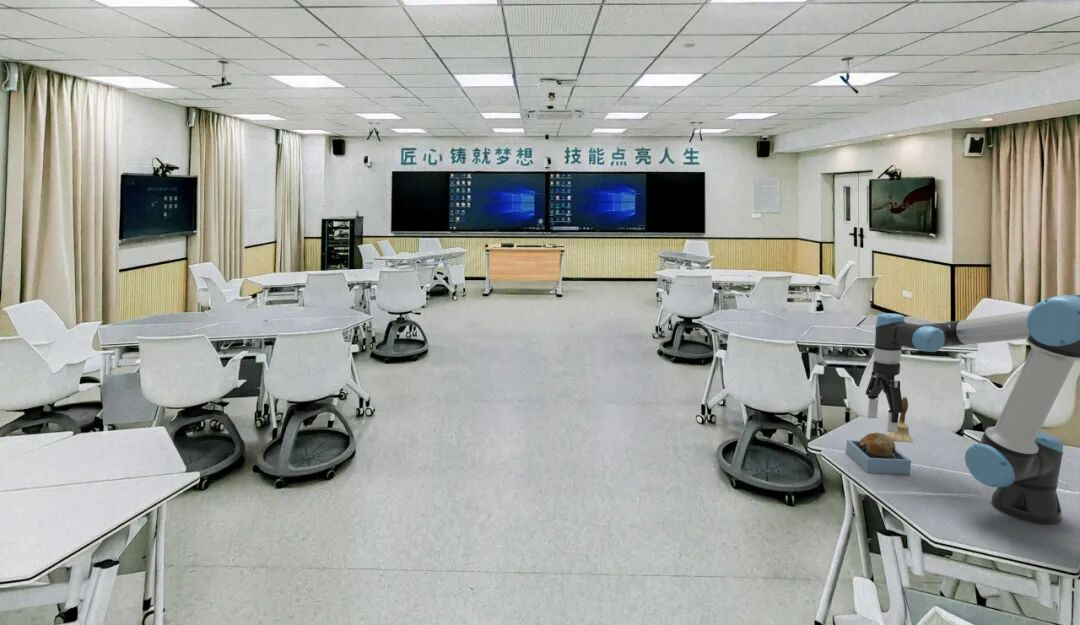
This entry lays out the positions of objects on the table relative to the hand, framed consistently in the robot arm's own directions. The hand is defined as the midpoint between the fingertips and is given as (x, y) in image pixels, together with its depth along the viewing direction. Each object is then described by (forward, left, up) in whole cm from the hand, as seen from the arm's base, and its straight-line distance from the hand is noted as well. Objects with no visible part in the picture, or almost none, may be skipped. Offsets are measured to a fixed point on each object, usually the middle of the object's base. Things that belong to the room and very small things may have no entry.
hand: (881, 424), depth 191 cm
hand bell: (+26, -20, -15) cm, 36 cm away
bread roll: (0, +1, -10) cm, 10 cm away
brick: (0, 0, -14) cm, 14 cm away
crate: (0, 0, -15) cm, 15 cm away
